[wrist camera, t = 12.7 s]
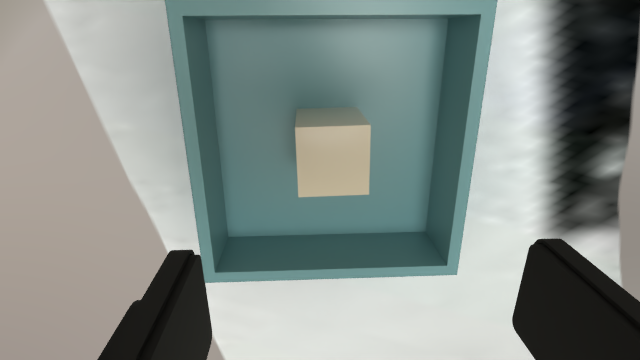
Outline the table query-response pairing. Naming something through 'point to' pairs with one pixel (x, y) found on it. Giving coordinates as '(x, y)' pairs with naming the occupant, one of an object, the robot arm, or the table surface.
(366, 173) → the stone block
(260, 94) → the bin
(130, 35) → the table surface
